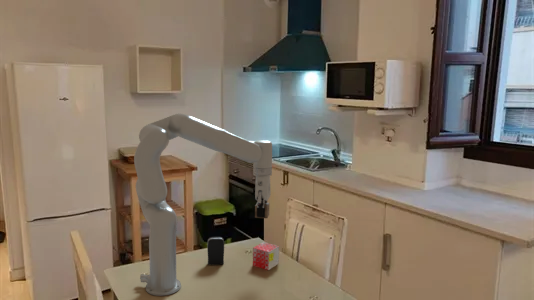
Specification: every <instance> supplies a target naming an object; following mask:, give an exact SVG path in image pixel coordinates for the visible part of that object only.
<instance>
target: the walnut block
mask: <svg viewBox="0 0 534 300" xmlns="http://www.w3.org/2000/svg"><path fill="white" fill-rule="evenodd" d="M264 208H265V217H257V203H256V204H255V205H254V218H256V219H268V217H269V216H270V202H267V203H264Z"/></svg>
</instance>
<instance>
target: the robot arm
mask: <svg viewBox="0 0 534 300" xmlns="http://www.w3.org/2000/svg"><path fill="white" fill-rule="evenodd" d="M178 137H179V138H180V139H181V138H182V139H184V140H187V141H188V142H189V141H190V142H192V143H195V144H197V145H200V146H202V147H204V148H207V149H210V150H213V151H216V152H218V153H222V154H226V155H229V156H231V157H234V158H237V159H239V160H240V161H244V162H247V163H249V164H252V165H253V169H252V175H253V176H255V180H254V181H255V187H254V191H255V192H254V195H255V200H256V201H257V202H256V204H257V217H265V208H264V203H268V200H269V199H270V197H271V194H272V193H271V192H272V191H271V176H272V175H273V143H272V141H270V140H266V139H262V140H261V139H259V140H248V139H246V138H243V137H240V136H237V135H235V134H234V133H231V132H229V131H227V130H226V129H223V128H221V127H218V126H216V125H214V124H213V125H212V123H211V124H210V123H208V122H206V121H203V120H201V119H199V118H197V117H194V116H192V115H189V114H186V113H175V114H172V115H169V116H166V117H164V118H162V119H158V120H156V121H154V122H151V123H148V124H146V125H144V126H143V127H141V128H140V130H139V134H138V139H139V141H140V142H139V143H138V145H137V147H136V149H135V152H134V156H133V162H134V168H135V172H136V176H137V177H136V178H137V179H136V180H135V181H136V182H135V192H136V196H137V198H138V202H139V206H140V209H141V211H142V215H143V216H144V219H145V221H147V223H148V225H149V235H148V238H149V239H148V249H149V250H148V251H149V252H148V253H149V255H148V256H149V274H140V276H139V279H140V283H146V285H145V291H146V292H147V294H150V295H152V296H159V297H160V296H161V297H163V296H168V295H172V294H175V293H177V292H178V291H179V290H180V289H181V288H182V285H181V281H180V280H179V279H177V229H178V215H177V214H176V211H175V210H174V209H173V208H172V207H171V206H170V204H168V203H167V200H166V198H167V196H168V187H167V183H166V181H165V178H164V174H163V170H162V165H161V160H160V159H161V156H162V153H163V152H164V150H166V148H167V147H168V145H169V143H170V140H174V139H176V138H178Z"/></svg>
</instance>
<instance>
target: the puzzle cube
mask: <svg viewBox="0 0 534 300" xmlns="http://www.w3.org/2000/svg"><path fill="white" fill-rule="evenodd" d="M279 256H280V246H279V245H277V244H272V243H268V242H265V241H263V242H261V243H259V244H257V245H256V246H254V247H252V266H253V267H256V268H260V269H263V270H267V271H270V270H271V269H273V268H274V267H276V266H277V265H279V259H280V257H279Z"/></svg>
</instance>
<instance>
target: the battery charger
mask: <svg viewBox="0 0 534 300" xmlns="http://www.w3.org/2000/svg"><path fill="white" fill-rule="evenodd" d="M206 247H207V265H209V266H211V265H212V266H215V265H224V263H225V262H224V261H225V260H224V257H225V241H224V238H223V237H222V236H210V237H209V238H208V239H207V245H206Z"/></svg>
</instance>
